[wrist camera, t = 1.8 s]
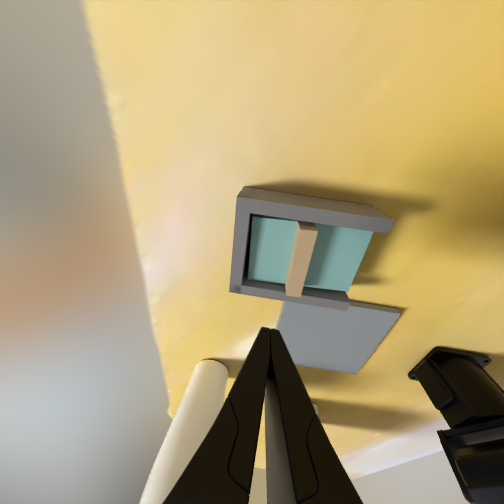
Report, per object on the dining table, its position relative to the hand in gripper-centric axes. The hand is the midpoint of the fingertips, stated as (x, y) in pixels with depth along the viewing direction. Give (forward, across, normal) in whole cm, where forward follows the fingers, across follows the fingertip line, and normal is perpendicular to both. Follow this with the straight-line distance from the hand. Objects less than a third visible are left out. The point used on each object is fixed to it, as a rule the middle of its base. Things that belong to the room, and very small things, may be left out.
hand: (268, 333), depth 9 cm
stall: (+10, -3, 0) cm, 11 cm away
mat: (+10, -9, +12) cm, 18 cm away
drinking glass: (+11, +5, +24) cm, 27 cm away
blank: (+11, -3, 0) cm, 11 cm away
